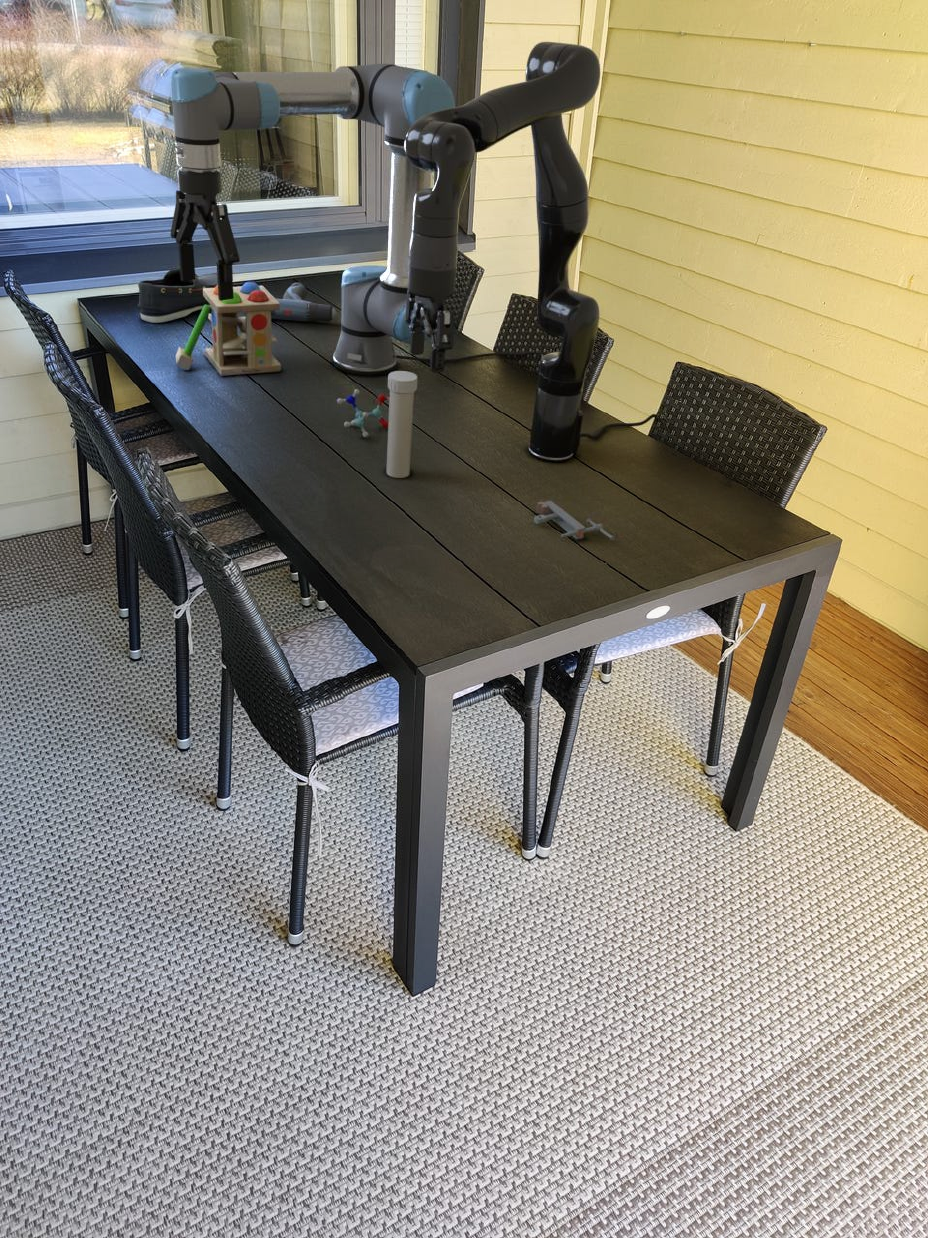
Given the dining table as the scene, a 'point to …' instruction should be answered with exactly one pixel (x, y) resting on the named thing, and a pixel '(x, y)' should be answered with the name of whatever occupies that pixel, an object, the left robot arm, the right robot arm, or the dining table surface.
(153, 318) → the boat shoe
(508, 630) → the dining table surface
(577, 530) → the clamp
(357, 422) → the molecular model
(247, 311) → the pounding bench toy
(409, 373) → the lid
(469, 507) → the dining table surface
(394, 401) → the jar
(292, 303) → the power drill
